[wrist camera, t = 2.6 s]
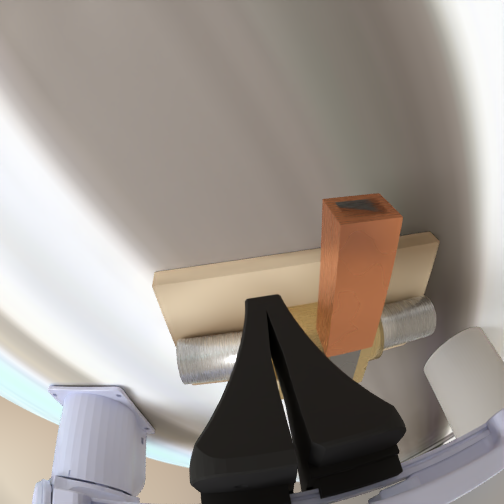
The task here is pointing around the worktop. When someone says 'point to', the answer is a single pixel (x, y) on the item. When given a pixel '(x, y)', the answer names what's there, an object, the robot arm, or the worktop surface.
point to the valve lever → (354, 274)
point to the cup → (467, 380)
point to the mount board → (270, 286)
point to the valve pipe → (388, 335)
